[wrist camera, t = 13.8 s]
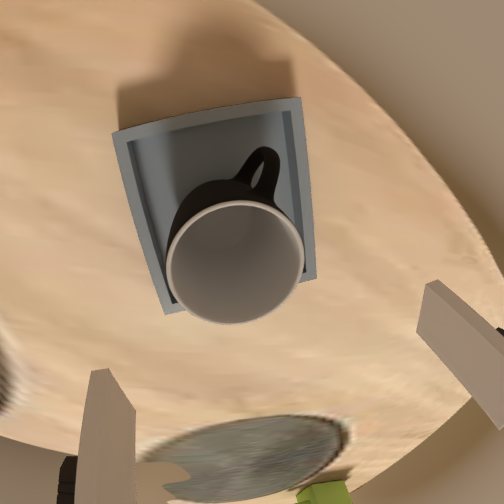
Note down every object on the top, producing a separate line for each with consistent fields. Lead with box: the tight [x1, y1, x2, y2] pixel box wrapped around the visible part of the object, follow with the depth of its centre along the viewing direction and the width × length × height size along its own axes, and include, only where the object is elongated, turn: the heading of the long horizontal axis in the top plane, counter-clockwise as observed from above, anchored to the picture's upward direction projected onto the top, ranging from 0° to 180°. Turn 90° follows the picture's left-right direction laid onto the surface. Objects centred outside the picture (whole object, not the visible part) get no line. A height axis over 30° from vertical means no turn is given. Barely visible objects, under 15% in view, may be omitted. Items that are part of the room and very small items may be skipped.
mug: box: [165, 146, 304, 325], centre depth 24 cm, size 12×9×10 cm
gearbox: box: [295, 481, 353, 504], centre depth 63 cm, size 18×10×10 cm, turn 67°
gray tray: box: [112, 97, 317, 315], centre depth 28 cm, size 15×17×3 cm
